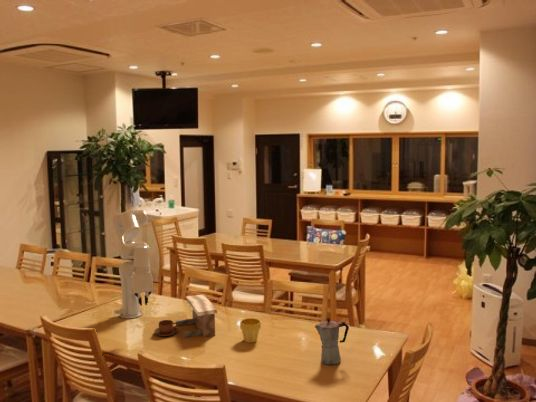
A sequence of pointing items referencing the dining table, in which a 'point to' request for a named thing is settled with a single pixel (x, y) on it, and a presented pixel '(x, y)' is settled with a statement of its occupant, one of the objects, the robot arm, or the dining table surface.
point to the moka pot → (330, 340)
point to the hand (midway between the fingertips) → (143, 304)
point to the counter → (200, 317)
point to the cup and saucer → (166, 328)
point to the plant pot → (250, 329)
